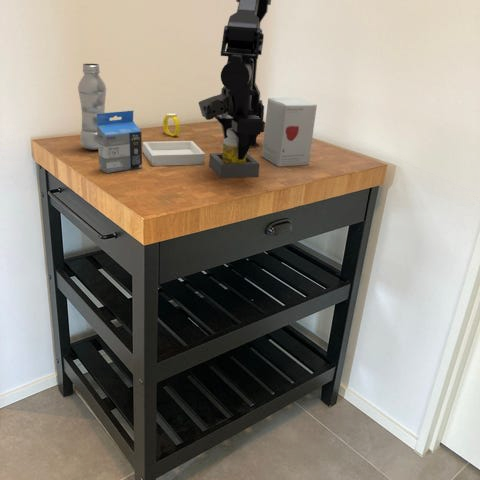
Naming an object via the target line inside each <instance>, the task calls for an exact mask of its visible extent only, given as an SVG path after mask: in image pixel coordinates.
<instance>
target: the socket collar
mask: <svg viewBox="0 0 480 480" xmlns="http://www.w3.org/2000/svg"><path fill="white" fill-rule="evenodd" d="M222 159H223V152H211V153H210V152H209V159H208V160H209V161H208V162H209V163H208V166H209V167H210V168H211V169H212V170H213V172H214V173H216V175H217V176H218V177H219V178H220V179H228V178H247V177H249V178H252V177H259V172H260V163H259V162H258V160H256V159H255V158H254V157H252V156H251V155H250V154H249V153H247V154H246V162H241V163H225V162H223V161H222Z"/></svg>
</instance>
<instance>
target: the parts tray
mask: <svg viewBox="0 0 480 480" xmlns="http://www.w3.org/2000/svg"><path fill="white" fill-rule="evenodd" d="M142 154H144V156H145V158H146V159H147V160H148V162H149V163H150V165H151V167H163V166H167V167H168V166H190V165H191V166H192V165H206V164H205V163H206V153H205V152H204V151H203V150H202V149H201V148H200V147H199V146H198V145H197V144H196V143H195V142H194V141H193V140H175V141H173V140H171V141H143V142H142Z"/></svg>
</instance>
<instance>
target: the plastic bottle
mask: <svg viewBox="0 0 480 480" xmlns="http://www.w3.org/2000/svg"><path fill="white" fill-rule="evenodd" d="M82 73H83V75H82V78H80V81H79V82H78V87H77V89H78V95H79V96H78V97H79V100H80V108H81V131H80V143H81V145H82V147H83V148H84V149H85V150H86V149H87V150H92V151H96V150H98V135H97V114H98V113H106V112H105V111H106V110H105V108H106V105H105V104H106V96H107V87H106V83H105V82H104V80H103V79H102V77H101V76H100V75H99V74H101V72H100V64H99V63H91V62H90V63H88V62H87V63H82Z"/></svg>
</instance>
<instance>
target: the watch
mask: <svg viewBox="0 0 480 480" xmlns="http://www.w3.org/2000/svg"><path fill="white" fill-rule="evenodd" d="M169 119H172V120H173V121H174V122H173V123H174V125H175V126H174V129H175V130H174V133H172V132H171V131H170V130H169V125H168V123H169ZM162 126H163V131H164V133H165V134H166V135H168V136H170V137H177V136H178V135H179V133H180V130H181V125H180V121H179V118H178V117H177V113H171V112H170V113H166V116H164V118H163V121H162Z"/></svg>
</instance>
